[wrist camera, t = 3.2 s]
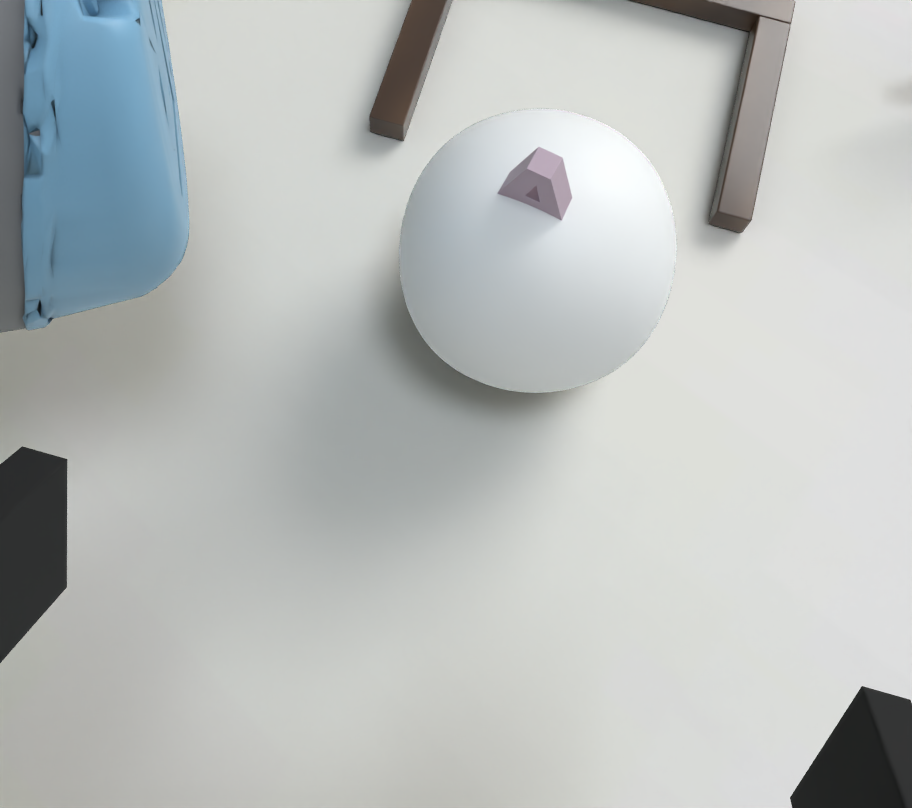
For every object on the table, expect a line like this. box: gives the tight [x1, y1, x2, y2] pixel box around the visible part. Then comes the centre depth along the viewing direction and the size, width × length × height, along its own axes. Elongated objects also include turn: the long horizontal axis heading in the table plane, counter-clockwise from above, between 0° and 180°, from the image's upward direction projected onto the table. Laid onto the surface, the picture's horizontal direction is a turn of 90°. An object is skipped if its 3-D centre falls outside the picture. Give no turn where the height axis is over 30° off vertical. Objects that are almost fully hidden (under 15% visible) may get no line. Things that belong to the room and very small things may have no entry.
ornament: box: [399, 109, 677, 393], centre depth 31 cm, size 10×10×12 cm
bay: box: [370, 0, 795, 233], centre depth 40 cm, size 18×12×1 cm
